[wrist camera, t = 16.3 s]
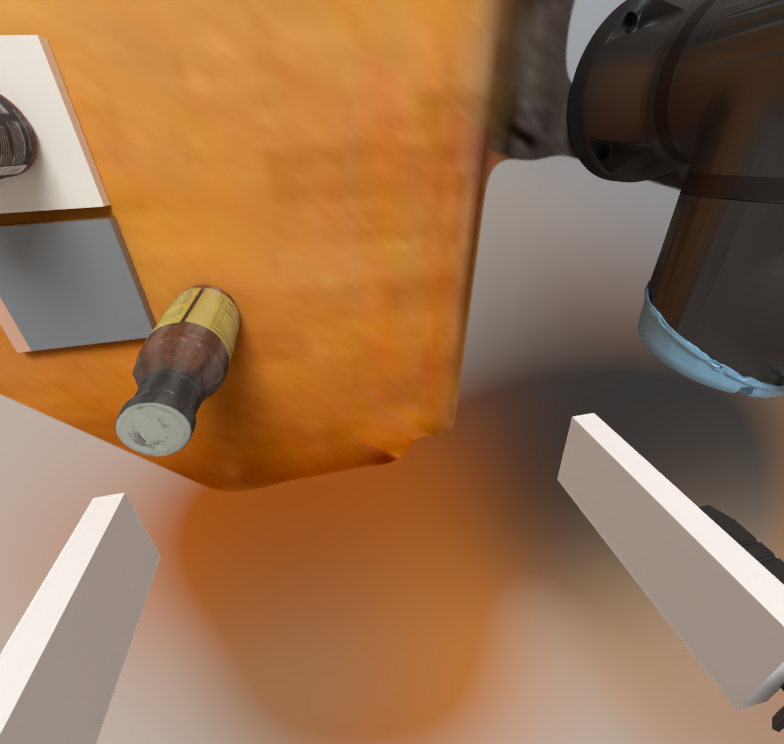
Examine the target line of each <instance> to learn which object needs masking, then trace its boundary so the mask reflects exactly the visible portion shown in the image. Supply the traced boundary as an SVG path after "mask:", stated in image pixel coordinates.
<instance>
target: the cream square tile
mask: <svg viewBox="0 0 784 744" xmlns="http://www.w3.org/2000/svg"><path fill="white" fill-rule="evenodd" d="M0 94H1V95H3V96H4V97H5V98H7V99H8V100H9V101H10V102H12V103H13V104H14V105H15V106H16V107H17V108H18V109H19V110H20V111H21V112H22V114H23V115H24V116H25V117H26V119H27V120H28V122H29V123H30V125H31V127H32V129H33V131H34V134H35V137H36V142H37V157H36V160H35V162H34V163H33V165H32V166H31V167H30V169H28V170H27V171H26V172H24V173H22V174H20V175H17V176H13V177H7V178H3V179H0V214H2V213H16V212H31V211H45V210H60V209H74V208H89V207H103V206H108V205H110V202H109V200H108V197H107V195H106V192H105V189H104V187H103V184H102V181H101V179H100V176H99V174H98V171H97V168H96V166H95V163H94V161H93V158H92V155H91V153H90V150H89V147H88V145H87V142H86V140H85V137H84V134H83V132H82V129H81V127H80V124H79V121H78V119H77V116H76V114H75V111H74V108H73V106H72V103H71V100H70V98H69V95H68V93H67V90H66V87H65V85H64V82H63V80H62V77H61V74H60V72H59V69H58V66H57V64H56V61H55V59H54V56H53V53H52V51H51V48H50V46H49V43H48V40H47V39H45V38H43V37H41V36H38V35H0Z"/></svg>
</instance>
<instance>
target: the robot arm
mask: <svg viewBox="0 0 784 744" xmlns="http://www.w3.org/2000/svg"><path fill="white" fill-rule="evenodd" d="M568 124H569V132H570V138H571V141H572V145H573V148H574V150H575V152H576V154H577V156H578V158H579V160H580V161H581V163H582V164H583V165H584V166H585V167H586V168H587V169H588V170H589V171H590V172H591V173H593V174H594V175H596V176H598V177H600V178H603V179H606V180H610V181H620V182H639V181H645V180H649V179H652V178H655V177H658V176H661V175H664V174H666V173H669V172H672V171H675V170H678V169H681V168H684V167H687V166H689V169H688V172H687V175H686V178H685V181H684V184H683V187H682V190H681V192H680V195H679V198H678V201H677V204H676V207H675V210H674V214H673V216H672V219H671V222H670V225H669V228H668V231H667V234H666V237H665V240H664V243H663V246H662V249H661V252H660V255H659V257H658V260H657V263H656V266H655V269H654V271H653V274H652V277H651V280H650V281H649V282H648V284H647V286H646V288H645V301H644V305H643V308H642V312H641V315H640V319H639V334H640V336H641V338H642V340H643V342H644V343H645V344H646V347H647V348H648V349H649V351H650V352H651V353H652V354H653V355H654V356H655V357H657V358H658V359H659V360H660V361H662V362H663V363H665V364H666V365H667V366H669V367H670V368H672V369H674V370H675V371H677V372H679V373H681V374H683V375H685V376H687V377H689V378H690V379H693V380H695V381H697V382H700V383H702V384H704V385H707V386H710V387H713V388H716V389H719V390H723V391H726V392H731V393H735V392H737V391H739V392H742V393H743V394H745V395H747V396H751V397H763V398H765V397H774V396H779V395H783V394H784V0H626V1H625V2H623V3H622V4H621V5H620V6H618V7H617V8H616V9H615V10H614V11H613V12H612V13H611V14H610V15H609V16H608V17H607V18H606V19H605V20H604V22H603V23H602V24H601V25H600V27H599V28H598V29H597V31H596V32H595V34H594V35H593V37H592V38H591V40H590V41H589V43H588V45H587V47H586V49H585V50H584V53H583V55H582V57H581V59H580V61H579V64H578V66H577V69H576V72H575V75H574V79H573V82H572V87H571V92H570V97H569V107H568ZM558 481H559V482H560V483H561V485H562V486H563V487H564V489H565V490H566V491H567V493H568V494H569V495H570V496H571V498H572V499H573V500H574V502H575V503H576V504H577V505H578V507H579V508H580V509H581V511H582V512H583V513H584V515H585V516H586V517H587V518H588V520H589V521H590V522H591V524H592V525H593V526H594V527H595V529H596V530H597V531H598V533H599V534H600V535H601V537H602V538H603V539H604V540H605V542H606V543H607V544H608V545H609V547H610V548H611V549H612V551H613V552H614V553H615V555H616V556H617V557H618V559H619V560H620V561H621V562H622V563H623V565H624V566H625V568H626V569H627V570H628V572H629V573H630V574H631V575H632V577H633V578H634V579H635V581H636V582H637V583H638V584H639V586H640V587H641V588H642V590H643V591H644V592H645V594H646V595H647V596H648V597H649V598H650V600H651V601H652V603H653V604H654V605H655V606H656V608H657V609H658V610H659V612H660V613H661V614H662V616H663V617H664V618H665V619H666V621H667V622H668V623H669V625H670V626H671V627H672V629H673V630H674V631H675V632H676V634H677V635H678V636H679V637H680V639H681V640H682V641H683V643H684V644H685V645H686V647H687V648H688V649H689V651H690V652H691V653H692V654H693V656H694V657H695V658H696V660H697V661H698V662H699V663H700V665H701V666H702V667H703V669H704V670H705V671H706V673H707V674H708V675H709V676H710V678H711V679H712V680H713V682H714V683H715V684H716V685H717V687H718V688H719V689H720V691H721V692H722V693H723V694H724V696H725V697H726V698H727V700H728V701H729V702H730V704H731V705H732V706H733V707H734V709H735V710H736V711H737V710H740V709H743V708H746V707H749V706H753V705H756V704H759V703H762V702H766V701H767V700H768V699H770V697H772V696H773V695H774V694H775V693H776V692H777V691H778V690H779V689H780V688H782V690H783V691H784V562H783V561H782V560H781V559H777V558H776V557H775V556H774V553H772V552H771V551H770V550H769V549H768V548H767V547H766V546H764V545H763V544H762V543H759V542H757V541H756V538H755V537H754V536H753V535H752V534H750V533H749V532H748V531H747V530H746V529H745V528H743V527H742V526H741V525H740V524H739V523H738V522H736V521H735V520H734V519H732V518H730V517H729V516H727V515H725V514H723V513H721V512H720V511H718V510H716V509H715V508H713V507H711V506H709V505H707V506H702V507H697V506H696V505H695V504H694V503H693V502H692V501H691V500H689V499H688V498H687V497H686V496H685V495H684V494H683V493H682V492H681V491H680V490H679V489H677V488H676V487H675V486H674V485H673V484H672V483H671V482H670V481H669V480H667V479H666V478H665V477H664V476H663V475H662V474H661V473H660V472H658V471H657V470H656V469H655V468H654V467H653V466H652V465H651V464H650V463H649V462H648V461H646V460H645V459H644V458H643V457H642V456H641V455H640V454H639V453H638V452H637V451H635V450H634V449H633V448H632V447H631V446H630V445H629V444H628V443H626V442H625V441H624V440H623V439H622V438H621V437H620V436H619V435H618V434H617V433H616V432H614V431H613V430H612V429H611V428H610V427H609V426H608V425H607V424H605V422H603V421H602V420H601V419H600V418H599V417H598V416H597V415H596V414H595V413H591V414H585V415H579V416H573V417H572V420H571V424H570V428H569V432H568V436H567V441H566V445H565V449H564V453H563V457H562V462H561V466H560V470H559V475H558ZM159 560H160V554H159V553H158V551H157V549H156V547H155V545H154V544H153V542H152V540H151V538H150V537H149V535H148V533H147V531H146V530H145V528H144V526H143V524H142V522H141V521H140V519H139V517H138V515H137V513H136V512H135V510H134V508H133V506H132V505H131V503H130V501H129V499H128V497H127V495H126V494H125V493H120V494H115V495H108V496H103V497H97V498H93V500H92V502H91V503H90V505H89V507H88V508H87V510H86V512H85V513H84V515H83V517H82V519H81V520H80V522H79V523H78V525H77V527H76V528H75V530H74V532H73V534H72V535H71V537H70V538H69V540H68V542H67V543H66V545H65V547H64V549H63V550H62V552H61V553H60V555H59V557H58V558H57V560H56V562H55V564H54V565H53V567H52V569H51V570H50V572H49V574H48V575H47V577H46V579H45V580H44V582H43V584H42V586H41V587H40V589H39V590H38V592H37V594H36V595H35V597H34V599H33V600H32V602H31V604H30V605H29V607H28V609H27V610H26V612H25V614H24V615H23V617H22V619H21V620H20V622H19V624H18V625H17V627H16V629H15V630H14V632H13V634H12V636H11V637H10V639H9V640H8V642H7V644H6V645H5V647H4V649H3V651H2V652H1V654H0V744H96V742H97V739H98V736H99V733H100V730H101V727H102V724H103V721H104V719H105V716H106V713H107V710H108V707H109V704H110V701H111V698H112V696H113V693H114V690H115V687H116V684H117V681H118V678H119V675H120V673H121V670H122V667H123V664H124V661H125V658H126V655H127V652H128V650H129V647H130V644H131V641H132V638H133V635H134V632H135V629H136V626H137V624H138V621H139V618H140V615H141V612H142V609H143V606H144V603H145V601H146V598H147V595H148V592H149V589H150V586H151V583H152V580H153V578H154V575H155V571H156V569H157V566H158V563H159ZM783 728H784V706H783V707H782V708H781V709H780V710H779V711H778V712H777V713H776V714H775V715H774V716H773V718H772V729H774V730H776V731H778V732H780V731H781V730H782V729H783Z"/></svg>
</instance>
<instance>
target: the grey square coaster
mask: <svg viewBox="0 0 784 744" xmlns="http://www.w3.org/2000/svg"><path fill="white" fill-rule="evenodd" d="M0 325H1V327H2V328H3V330H4V332H5V333H6V335H7V337H8V338H9V340H10V342H11V343H12V345H13V347H14V348H15V350H16V351H17V353H20V352H28V351H37V350H46V349H54V348H63V347H71V346H80V345H89V344H97V343H106V342H114V341H123V340H132V339H140V338H148V336H149V335H150V333H151V332H152V331H153V329H154V328H155V327H156V323H155V320H154V317H153V315H152V312H151V310H150V307H149V304H148V302H147V299H146V297H145V294H144V291H143V289H142V286H141V283H140V281H139V278H138V276H137V273H136V270H135V268H134V265H133V263H132V260H131V257H130V255H129V252H128V249H127V247H126V244H125V242H124V239H123V236H122V234H121V231H120V229H119V226H118V223H117V221H116V218H115V217H109V218H95V219H81V220H67V221H54V222H40V223H26V224H12V225H0Z"/></svg>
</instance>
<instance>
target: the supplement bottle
mask: <svg viewBox="0 0 784 744" xmlns="http://www.w3.org/2000/svg"><path fill="white" fill-rule="evenodd" d="M36 157H37V142H36V137H35V134H34V131H33V129H32V127H31V125H30V123H29V122H28V120H27V119H26V117H25V116H24V115H23V114H22V112H21V111H20V110H19V109H18V108H17V107H16V106H15V105H14V104H13V103H12V102H10V101H9V100H8V99H7V98H5V97H4V96H3V95H1V94H0V179H3V178H7V177H13V176H17V175H20V174H22V173H24V172H26V171H27V170H28V169H30V167H31V166H32V165H33V163H34V162H35V160H36Z"/></svg>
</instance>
